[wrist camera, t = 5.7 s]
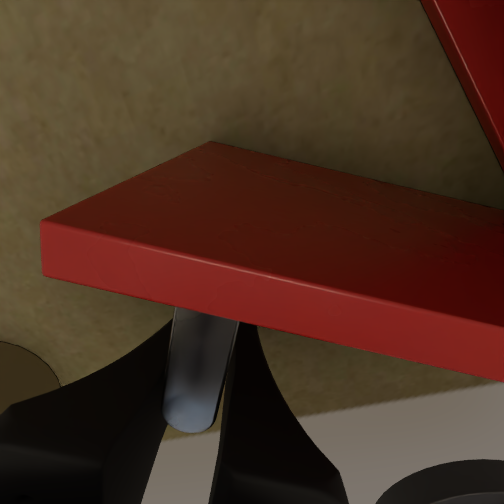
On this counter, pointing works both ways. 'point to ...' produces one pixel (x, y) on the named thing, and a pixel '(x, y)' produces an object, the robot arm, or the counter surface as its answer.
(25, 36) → the counter surface
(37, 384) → the brown pawn figure
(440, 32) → the valve cabinet
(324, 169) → the valve door
